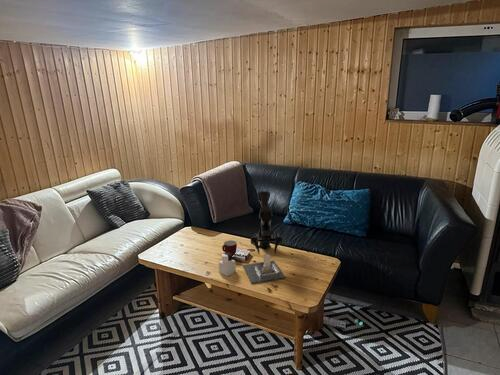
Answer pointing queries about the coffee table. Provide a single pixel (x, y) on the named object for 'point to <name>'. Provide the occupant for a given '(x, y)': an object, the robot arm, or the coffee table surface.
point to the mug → (230, 247)
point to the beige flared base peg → (267, 264)
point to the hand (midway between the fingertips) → (267, 254)
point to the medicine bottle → (227, 264)
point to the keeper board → (258, 277)
